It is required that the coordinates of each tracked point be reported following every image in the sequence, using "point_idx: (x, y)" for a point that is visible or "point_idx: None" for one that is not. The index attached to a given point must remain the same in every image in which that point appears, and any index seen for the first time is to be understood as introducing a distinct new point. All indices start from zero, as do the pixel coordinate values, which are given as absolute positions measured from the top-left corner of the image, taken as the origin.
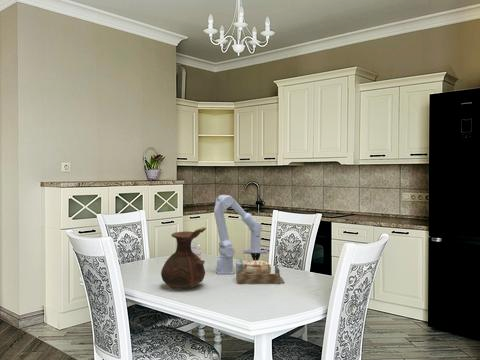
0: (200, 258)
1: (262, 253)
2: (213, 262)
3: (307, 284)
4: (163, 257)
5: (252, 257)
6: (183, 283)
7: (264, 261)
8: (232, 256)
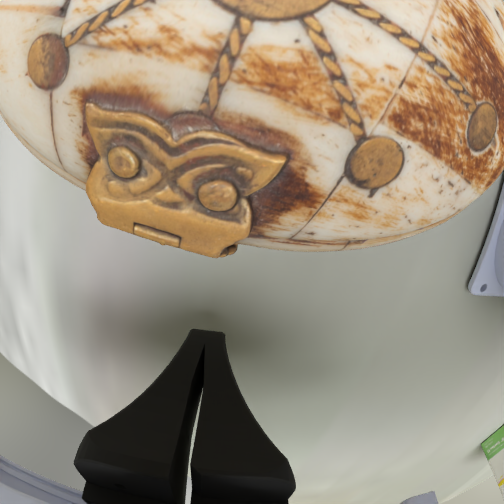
0: (497, 457)
1: (45, 481)
2: (421, 470)
3: None
4: None
5: (264, 440)
6: None
7: (4, 13)
8: None
